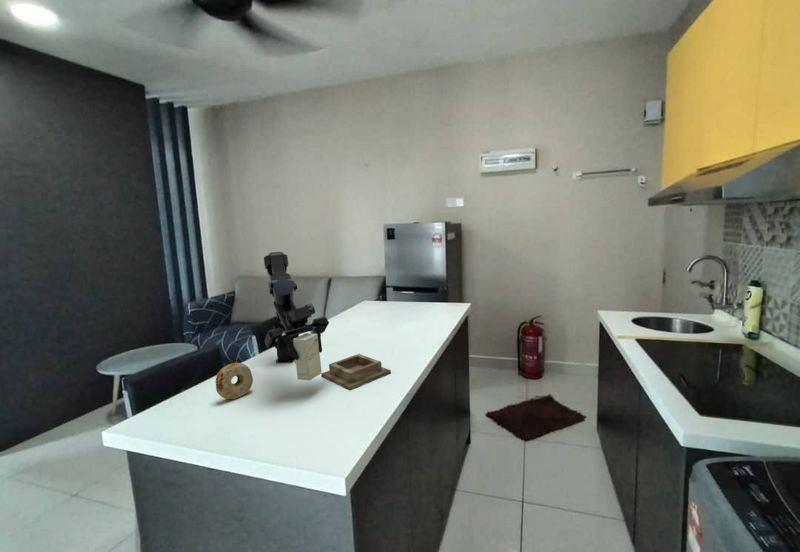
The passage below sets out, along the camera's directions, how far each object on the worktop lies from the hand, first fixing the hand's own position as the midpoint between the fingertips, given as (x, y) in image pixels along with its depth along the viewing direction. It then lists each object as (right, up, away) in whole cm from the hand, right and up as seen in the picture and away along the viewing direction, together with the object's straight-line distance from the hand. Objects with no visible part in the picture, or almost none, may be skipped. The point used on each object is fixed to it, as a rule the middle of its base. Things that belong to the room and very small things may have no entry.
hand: (309, 355), depth 109 cm
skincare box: (0, -7, +2) cm, 7 cm away
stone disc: (-22, -13, +3) cm, 26 cm away
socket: (+12, -9, +14) cm, 20 cm away
